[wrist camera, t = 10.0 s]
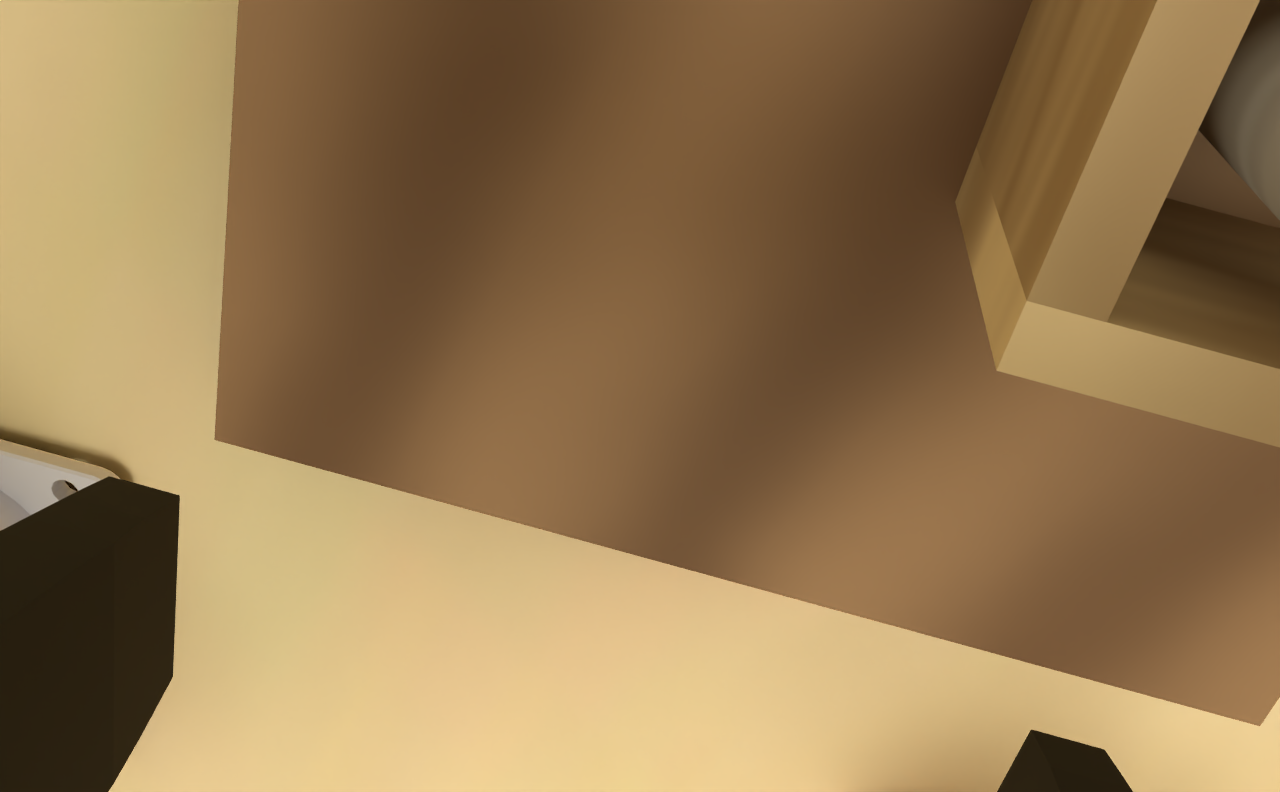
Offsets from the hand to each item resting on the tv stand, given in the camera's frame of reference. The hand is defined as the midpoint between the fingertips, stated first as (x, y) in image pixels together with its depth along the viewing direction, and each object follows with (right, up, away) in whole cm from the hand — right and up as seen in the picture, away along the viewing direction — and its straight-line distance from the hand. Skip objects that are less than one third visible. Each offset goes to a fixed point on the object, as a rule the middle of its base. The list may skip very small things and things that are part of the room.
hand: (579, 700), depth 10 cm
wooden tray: (+4, +6, +8) cm, 10 cm away
